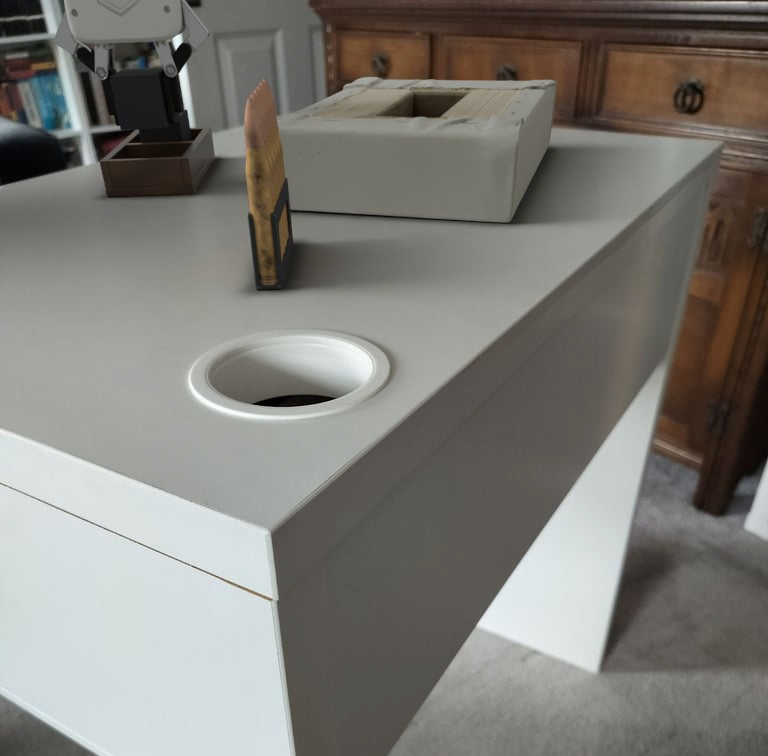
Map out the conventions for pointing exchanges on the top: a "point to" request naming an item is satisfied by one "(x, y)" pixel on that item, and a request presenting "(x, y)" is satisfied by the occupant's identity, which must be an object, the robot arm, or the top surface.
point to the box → (419, 148)
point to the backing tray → (158, 165)
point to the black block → (139, 98)
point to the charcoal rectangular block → (169, 132)
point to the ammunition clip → (267, 191)
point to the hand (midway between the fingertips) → (148, 120)
